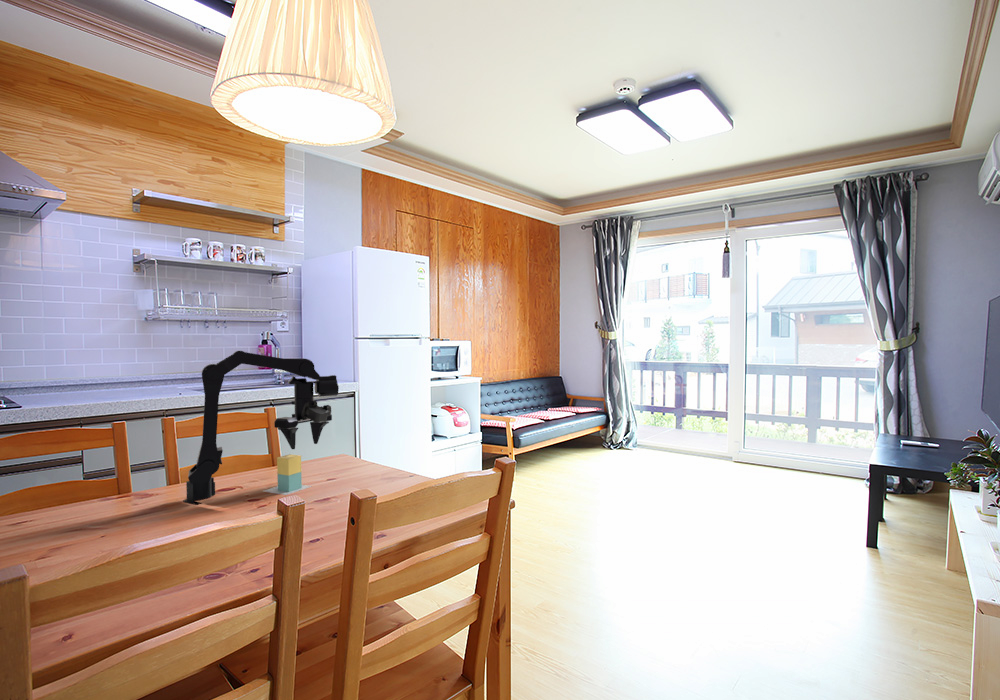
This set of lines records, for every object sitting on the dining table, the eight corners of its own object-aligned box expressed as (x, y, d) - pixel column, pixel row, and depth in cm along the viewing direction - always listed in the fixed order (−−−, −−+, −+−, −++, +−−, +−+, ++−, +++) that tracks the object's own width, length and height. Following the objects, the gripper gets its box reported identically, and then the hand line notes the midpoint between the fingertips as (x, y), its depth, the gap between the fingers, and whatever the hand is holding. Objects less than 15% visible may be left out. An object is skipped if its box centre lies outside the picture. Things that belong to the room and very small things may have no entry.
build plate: (285, 497, 149) (285, 494, 149) (262, 493, 154) (262, 491, 154) (311, 488, 158) (311, 486, 158) (288, 485, 163) (288, 482, 163)
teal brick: (289, 491, 152) (288, 475, 152) (277, 490, 154) (277, 473, 154) (301, 487, 157) (301, 471, 157) (290, 486, 159) (290, 470, 159)
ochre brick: (288, 475, 152) (288, 458, 152) (277, 473, 154) (277, 457, 154) (301, 471, 156) (301, 455, 156) (290, 470, 158) (289, 454, 158)
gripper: (299, 401, 150) (300, 454, 150) (344, 395, 167) (344, 443, 167) (272, 400, 155) (273, 451, 155) (318, 394, 172) (319, 440, 172)
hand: (304, 446), depth 162 cm, fingers open, 9 cm apart
